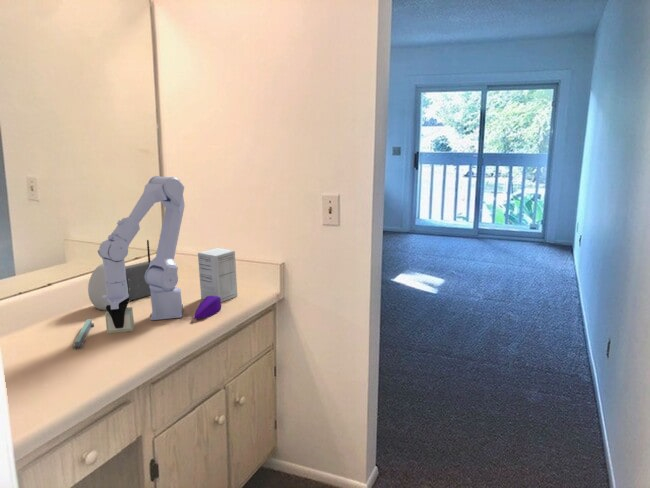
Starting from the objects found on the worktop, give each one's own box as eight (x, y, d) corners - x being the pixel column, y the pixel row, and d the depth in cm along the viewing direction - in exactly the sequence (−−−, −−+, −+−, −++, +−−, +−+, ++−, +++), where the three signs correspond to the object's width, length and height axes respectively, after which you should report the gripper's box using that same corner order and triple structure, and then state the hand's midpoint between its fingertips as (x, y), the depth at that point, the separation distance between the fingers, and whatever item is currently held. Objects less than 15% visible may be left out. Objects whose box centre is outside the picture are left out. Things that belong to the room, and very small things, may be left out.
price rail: (94, 325, 155) (93, 318, 155) (82, 348, 138) (81, 340, 137) (85, 326, 154) (84, 319, 154) (73, 349, 137) (72, 341, 137)
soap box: (134, 326, 154) (132, 307, 153) (132, 330, 150) (130, 311, 149) (109, 328, 152) (107, 309, 151) (107, 333, 149) (105, 313, 147)
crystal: (187, 310, 156) (211, 291, 170) (189, 324, 158) (213, 305, 171) (200, 311, 155) (224, 292, 169) (202, 326, 156) (226, 306, 170)
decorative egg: (136, 302, 176) (133, 260, 173) (110, 313, 165) (106, 268, 162) (108, 299, 180) (105, 258, 178) (81, 309, 169) (76, 265, 166)
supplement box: (220, 292, 187) (217, 247, 184) (238, 296, 182) (236, 250, 178) (200, 299, 179) (196, 252, 176) (218, 303, 174) (215, 255, 171)
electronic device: (152, 290, 190) (148, 238, 186) (164, 293, 186) (160, 239, 182) (109, 302, 176) (104, 245, 172) (121, 306, 172) (116, 247, 168)
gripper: (105, 275, 154) (109, 318, 157) (96, 288, 140) (102, 335, 143) (129, 273, 156) (133, 316, 159) (124, 286, 142) (128, 332, 145)
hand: (120, 325), depth 151 cm, fingers closed on soap box, 4 cm apart
